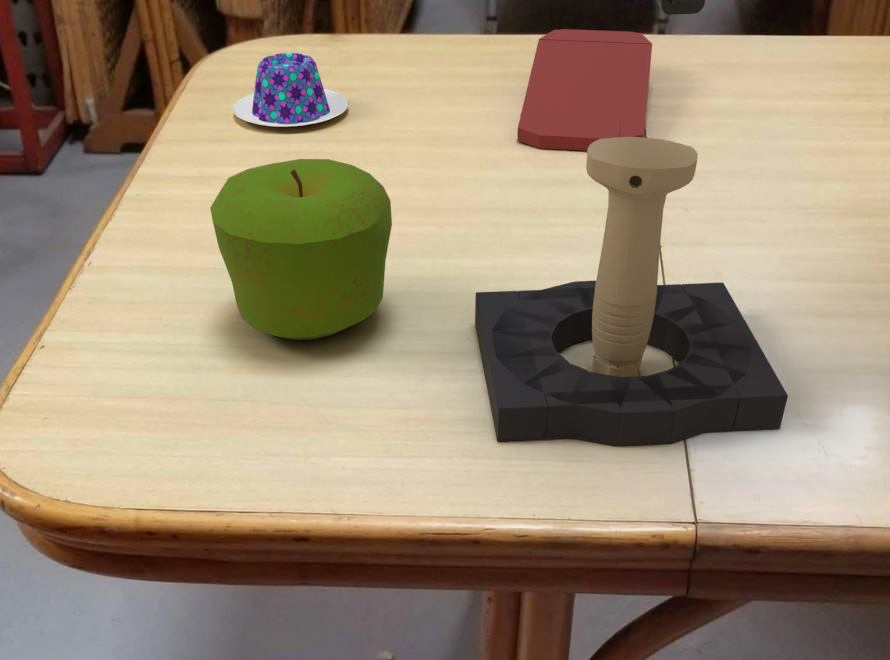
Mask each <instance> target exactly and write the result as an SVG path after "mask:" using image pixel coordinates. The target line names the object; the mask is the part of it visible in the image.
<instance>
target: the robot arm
mask: <svg viewBox="0 0 890 660" xmlns="http://www.w3.org/2000/svg"><path fill="white" fill-rule="evenodd" d="M657 2H658V3H657V5H658V7H659V8H660V9H661V11H662V12H663V13H664V14H665V15H670V16H672V15H694V14H698V13H700V12H701V11H702V10H703V9H704V7H705V4H706V0H658V1H657Z"/></svg>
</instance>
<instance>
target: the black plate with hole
mask: <svg viewBox="0 0 890 660" xmlns="http://www.w3.org/2000/svg"><path fill="white" fill-rule="evenodd" d="M595 285H596V280H576V281H571V282H567V283H563V284H559V285H555V286H550V287H547V288H542V289H528V290H527V289H525V290H524V289H523V290H503V291H502V290H501V291H499V290H498V291H476V292H475V296H474V297H475V299H474V300H475V305H474V312H475V313H474V325H475V331H476V335H477V340H478V346H479V352H480V358H481V362H482V368H483V373H484V377H485V383H486V389H487V395H488V400H489V405H490V410H491V415H492V420H493V424H494V432H495V436H496V437H495V438H496V441H497V442H511V441H512V442H513V441H515V442H517V441H537V440H562V439H577V440H582V441H587V442H593V443H597V444H598V443H599V444H602V445H608V446H614V447H615V446H616V447H619V446H620V447H622V446H623V447H625V446H642V445H643V446H644V445H663V444H664V445H665V444H667V445H669V444H674V443H676V442H679V441H683V440H686V439H689V438H693V437H696V436H698V435H702V434H704V433H713V432H714V433H715V432H716V433H717V432H732V431H734V432H735V431H737V432H738V431H755V430H756V431H758V430H779V429H781V426H782V422H783V417H784V414H785V409H786V405H787V401H788V398H789V395H788V393H787V391H786V390H785V387H784V386H783V384H782V382H781V381H780V379H779V377H778V375H777V374H776V372H775V370H774V368H773V367H772V365H771V363H770V362H769V360H768V358H767V356H766V354H765V353H764V351H763V350H762V349H763V348H762V347H761V345H760V344H759V342H758V341H757V338H756V336H754V334H753V332H752V330H751V328H750V327H749V325H748V323H747V321H746V319H745V318H744V316H743V314H742V313H741V311H740V310H739V307H738V306H737V304H736V302H735V301H734V298H733V297H732V295H731V293H730V291H729V290H728V287H726V285H725V283H724V282H723V281H721V282H701V283H699V282H698V283H682V284H681V283H678V284H677V283H676V284H673V283H672V284H657V296H656V304H655V311H654V317H653V322H652V327H651V331H650V335H649V339H648V342H647V345H649V346H651V347H654V348H656V349H659V350H662V351H664V352H665V353H667V354H668V355H670V356H671V357H672V358H673V359H674V360H675V361H677V362H678V364H676V365H675V366H673V367H672V368H670V369H669V368H668V369H666V370H661V371H658V372H655V373H653V374H649V375H638V376H633V377H617V376H611V375H605V374H599V373H595V372H594V371H593V372H592V371H590V370H588V369H585V368H583V367H580V366H579V365H576V364H574V363H571V362H570V361H568V360H567V359H566V358H565V357H564V356H563V355H562V354H560V352H562V351H563V350H565V349H566V348H568V347H569V346H570V345H575V344H578V343H582V342H585V341H589V340H593V339H592V312H593V302H594V292H595Z"/></svg>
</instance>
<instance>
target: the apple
mask: <svg viewBox="0 0 890 660" xmlns="http://www.w3.org/2000/svg"><path fill="white" fill-rule="evenodd" d="M209 209H210V215H211V220H212V224H213V228H214V234H215V237H216V241H217V246H218V250H219V252H220V254H221V257H222V260H223V262H224V265H225V268H226V271H227V273H228V275H229V278H230V281H231V284H232V289H233V294H234V297H235V303H236V307H237V309H238V311H239V314H240V316H241V319H243V320H244V321H245V322H246V323H247V324H248V325H250V326H252V328H254V329H255V330H256V331H259V332H262V333H266V334H268V335H271V336H274V337H277V338H282V339H286V340H287V339H288V340H294V341H295V340H296V341H302V340H305V341H307V340H309V341H310V340H317V339H322V338H327V337H330V336H332V335H335V334H337V333H339V332H341V331H343V330H346V329H348V328H350V327H352V326H354V325H357V324H358V323H362V321H364V320H366V319H367V318H368V317H370V316H371V315H372V314H373V313H375V312H376V311H377V310H378V308H379V307H380V304H381V303H382V301H383V298H384V287H385V274H386V272H385V271H386V261H387V256H388V255H387V254H388V251H389V250H388V249H389V243H390V239H391V238H390V237H391V233H392V226H393V222H392V221H393V219H392V203H391V198H390V196H389V195H388V193H387V190H386V188H385V187H384V186H383V184H381V182H379V181H378V180H377V179H376V177H374V176H373V175H372V174H371V173H370V172H368V171H365V170H364V169H361V168H359V167H358V166H355V165H353V164H350V163H345V162H341V161H337V160H333V159H329V158H328V159H327V158H298V159H292V160H286V161H285V160H284V161H279V162H273V163H268V164H264V165H259V166H256V167H251V168H247V169H244V170H242V171H240V172H238V173H236V174H234V175H231V176H230V177H228V178H227V179H226V181H225V182H224V184H223V186H222V187H221V189H220V191H219V192H218V194H217V196H216V197H215V199H214V200H213V203H212V204H211V205H210V207H209Z"/></svg>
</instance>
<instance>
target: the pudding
mask: <svg viewBox="0 0 890 660" xmlns="http://www.w3.org/2000/svg"><path fill="white" fill-rule="evenodd" d="M254 81H255V82H254V90H253V92H251V93H249V94H247V95H244V96H243V97H241V98H240V99H238V100H237V101H236V102H235V103H234V105H232V108H233V109H232V111H233V114H234V115H235V116H236V117H237V118H239V119H241V120H243V121H245V122H248V123H252V124H256V125H260V126H264V127H265V126H266V127H277V128H278V127H281V128H283V127H284V128H285V127H286V128H288V127H301V126H309V125H315V124H319V123H323V122H327V121H328V120H331V119H333V118H336V117H338V116H340V115H341V114H344V112H346V110H347V109H348V107H349V100H348V99H347V97H345V96H344V95H343V94H341V93H340V92H337V91H335V90H331V89H327V88H324V85H323V82H322V79H321V76H320V72H319V69H318V66H317V63H316V61H315V59H314V58H313V57H312V56H311V55H307V54H303V53H301V52H300V53H298V52H291V53H288V52H280V53H276V54H273V55H268V56H265V57H264V58H263V59H262V60H260V62H259V63H258V65H257V68H256V74H255V80H254Z"/></svg>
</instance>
